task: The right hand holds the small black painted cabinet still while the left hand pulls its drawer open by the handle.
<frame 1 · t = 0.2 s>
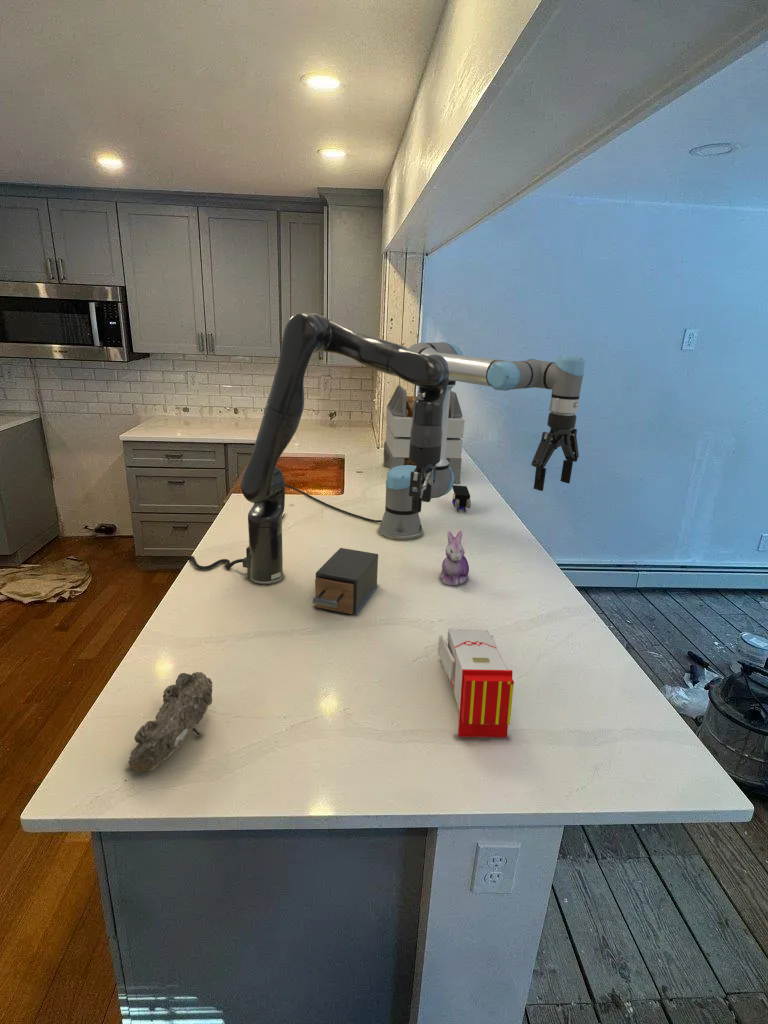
left hand: (421, 506, 140), 29 cm above the counter, tool pointing down, fingers open, 8 cm apart
right hand: (551, 485, 166), 28 cm above the counter, tool pointing down, fingers open, 13 cm apart
figurine: (454, 579, 168), on the counter
fossil: (179, 732, 104), on the counter
cabinet: (347, 595, 156), on the counter
slatted crate: (419, 473, 275), on the counter
drawer: (340, 588, 149), point 5 cm above the counter, slide at 0.5 cm
figurine character: (460, 507, 229), on the counter
feather: (283, 517, 211), on the counter
toy: (469, 691, 119), on the counter
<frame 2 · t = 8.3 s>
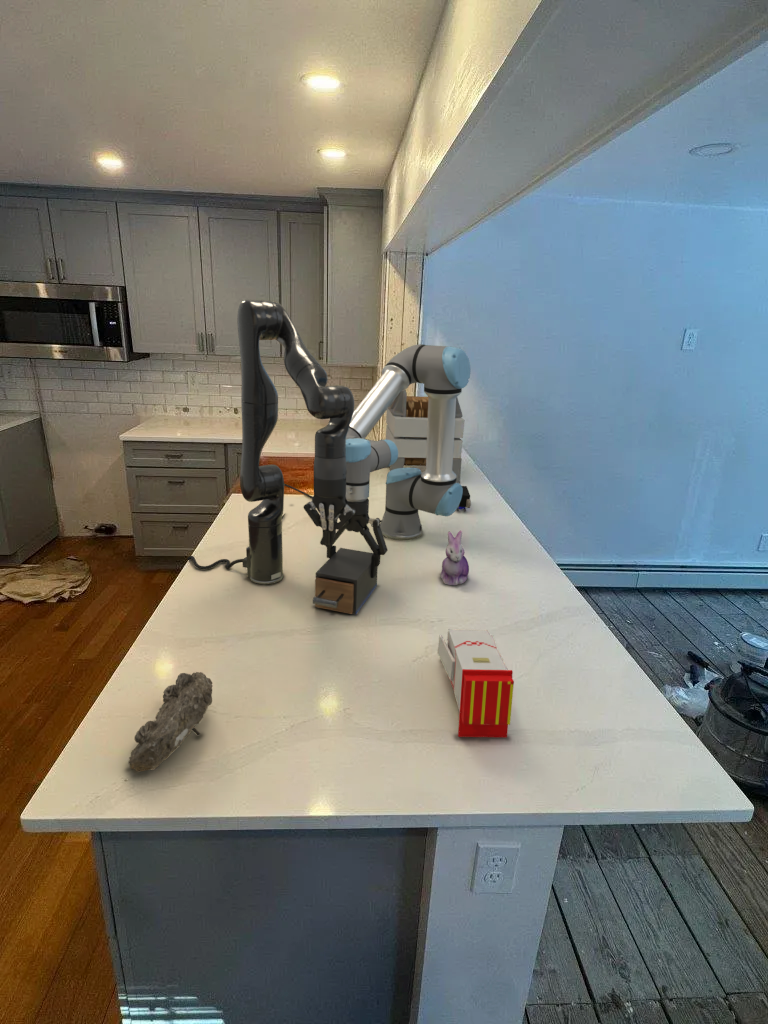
left hand: (329, 543, 136), 21 cm above the counter, tool pointing down, fingers closed
right hand: (352, 572, 157), 5 cm above the counter, tool pointing down, fingers closed on cabinet, 11 cm apart
cabinet: (347, 595, 156), on the counter, touching right hand
everything else where it was.
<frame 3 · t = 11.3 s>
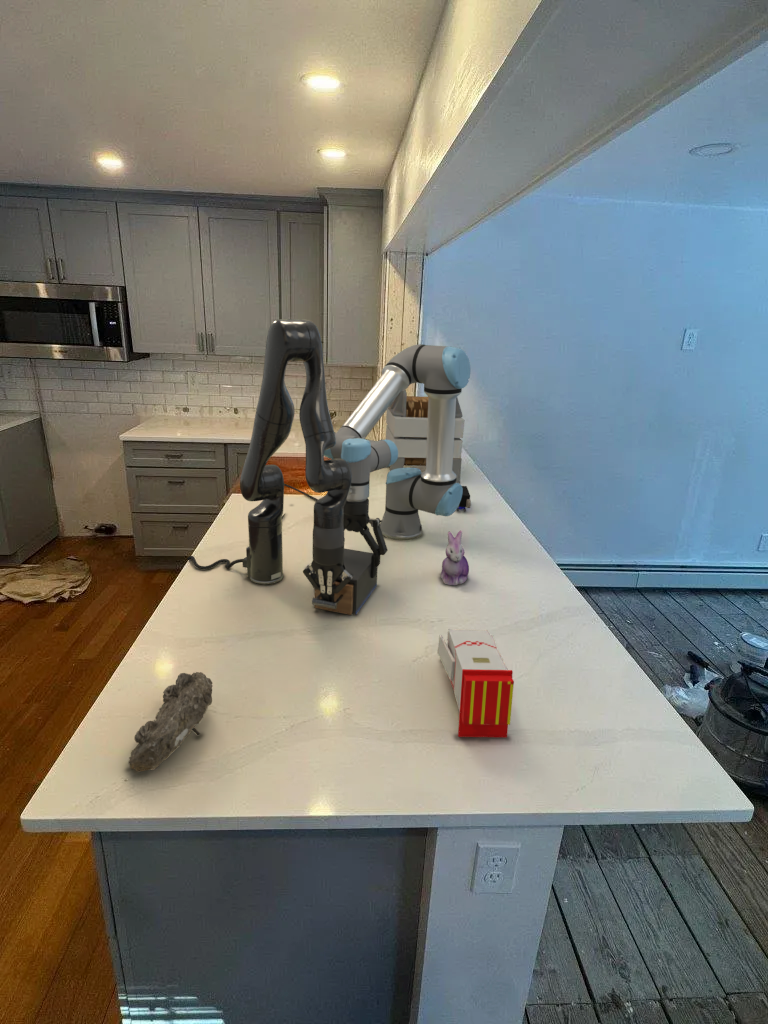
left hand: (327, 605, 141), 5 cm above the counter, tool pointing down, fingers closed
right hand: (352, 572, 157), 5 cm above the counter, tool pointing down, fingers closed on cabinet, 11 cm apart
cabinet: (347, 595, 156), on the counter, touching right hand
drawer: (339, 588, 149), point 5 cm above the counter, slide at 0.9 cm, touching left hand
everything else where it was.
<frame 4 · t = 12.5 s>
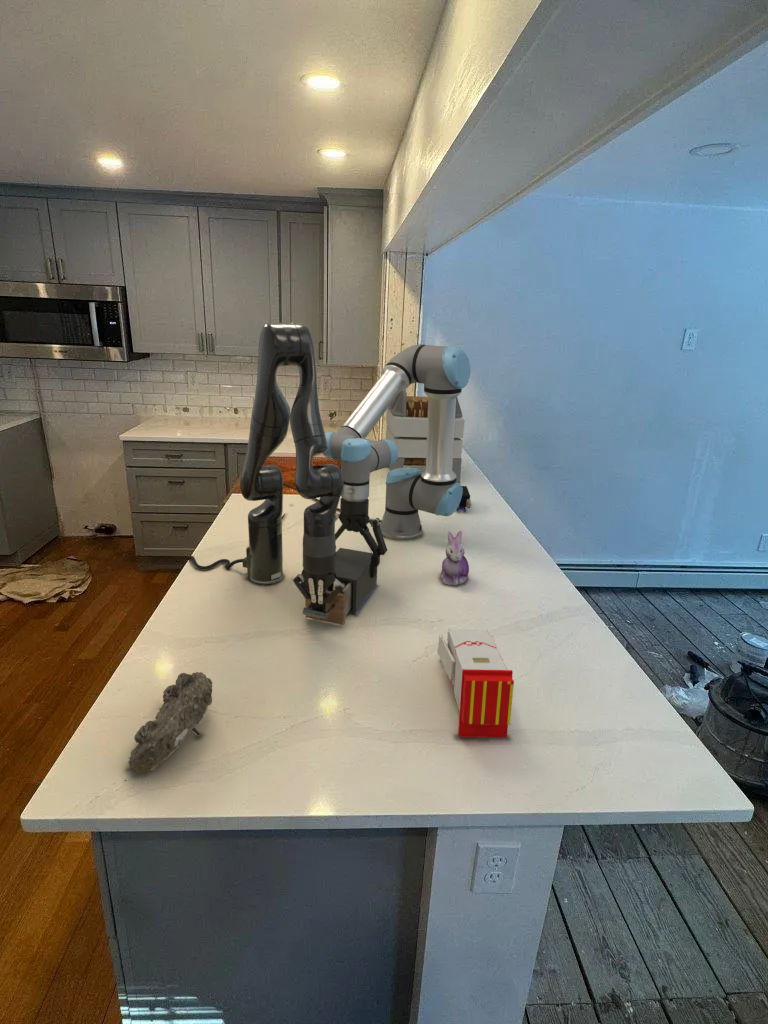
left hand: (318, 615, 136), 5 cm above the counter, tool pointing down, fingers closed
right hand: (352, 572, 157), 5 cm above the counter, tool pointing down, fingers closed on cabinet, 11 cm apart
cabinet: (347, 595, 155), on the counter, touching right hand
drawer: (332, 597, 144), point 5 cm above the counter, slide at 6.1 cm, touching left hand
everything else where it was.
when the right hand's fingers open (5 cm above the counter, at t = 14.1 s): cabinet stays where it is, on the counter.
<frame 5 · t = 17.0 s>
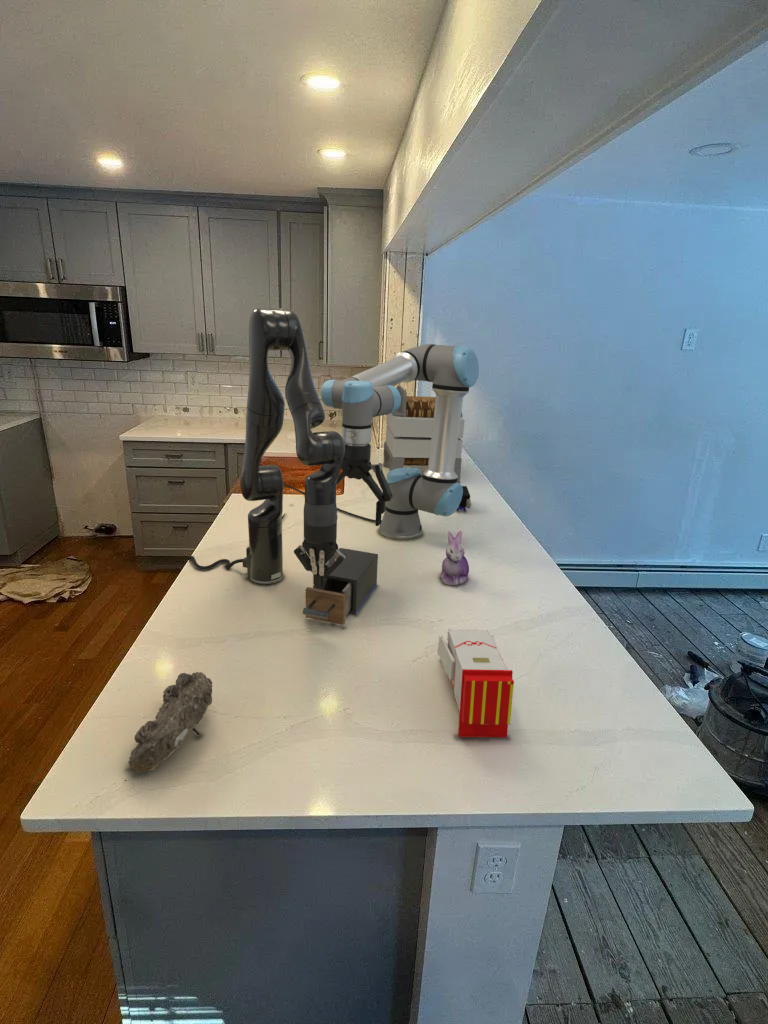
left hand: (320, 587, 134), 12 cm above the counter, tool pointing down, fingers closed
right hand: (354, 520, 152), 21 cm above the counter, tool pointing down, fingers open, 13 cm apart
cabinet: (347, 595, 156), on the counter
drawer: (332, 597, 144), point 5 cm above the counter, slide at 6.1 cm
everything else where it was.
at the end: drawer slide at 6.1 cm; cabinet tilted 0°; cabinet never tilted more than 1° during the clip; cabinet moved 0.1 cm from its start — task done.
